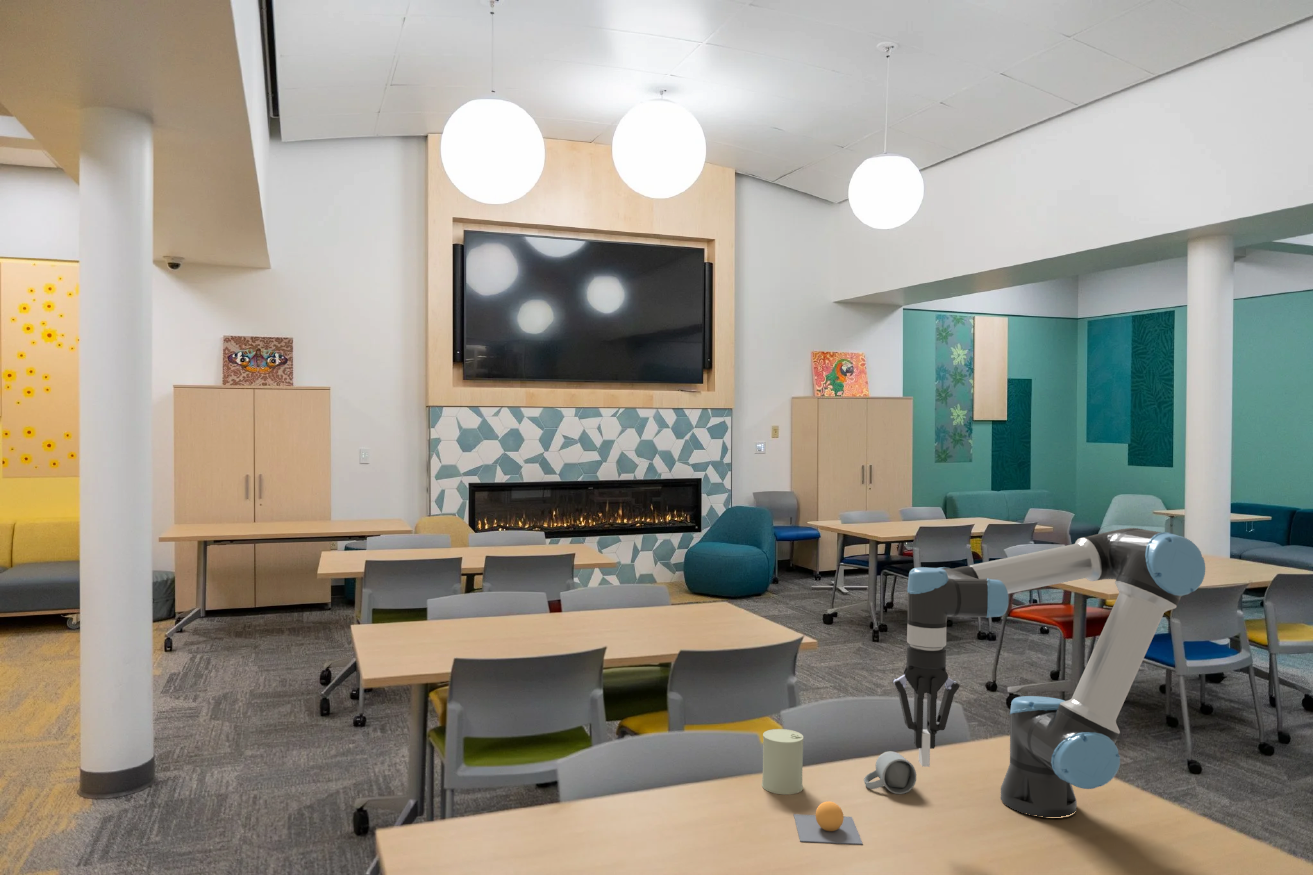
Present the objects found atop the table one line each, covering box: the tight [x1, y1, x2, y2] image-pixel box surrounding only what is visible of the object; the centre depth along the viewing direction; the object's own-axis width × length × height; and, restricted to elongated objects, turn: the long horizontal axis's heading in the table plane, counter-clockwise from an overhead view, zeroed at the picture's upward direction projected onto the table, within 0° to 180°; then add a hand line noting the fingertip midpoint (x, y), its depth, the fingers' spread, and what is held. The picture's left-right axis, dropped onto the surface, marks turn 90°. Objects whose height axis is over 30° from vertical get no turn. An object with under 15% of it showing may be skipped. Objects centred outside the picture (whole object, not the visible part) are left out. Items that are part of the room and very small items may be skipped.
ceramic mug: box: [863, 750, 917, 795], centre depth 194 cm, size 11×8×8 cm
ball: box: [815, 800, 844, 831], centre depth 172 cm, size 6×6×6 cm
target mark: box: [793, 813, 863, 845], centre depth 172 cm, size 12×12×1 cm
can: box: [761, 728, 805, 796], centre depth 193 cm, size 9×9×12 cm
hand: (924, 763), depth 171 cm, fingers closed
